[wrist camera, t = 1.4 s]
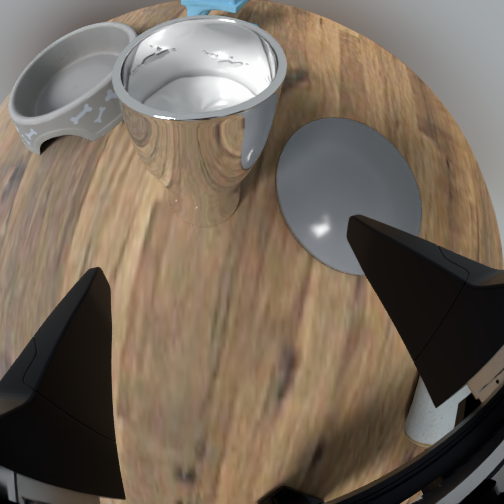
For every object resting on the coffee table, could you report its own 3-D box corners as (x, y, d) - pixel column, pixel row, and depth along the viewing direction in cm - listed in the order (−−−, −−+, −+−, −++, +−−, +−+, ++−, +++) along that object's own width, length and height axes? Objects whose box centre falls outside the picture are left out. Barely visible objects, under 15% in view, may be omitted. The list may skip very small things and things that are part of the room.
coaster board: (432, 197, 26) (437, 194, 25) (370, 310, 23) (375, 311, 22) (333, 100, 26) (336, 95, 25) (237, 191, 23) (238, 186, 22)
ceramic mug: (388, 432, 21) (432, 460, 14) (408, 364, 23) (461, 378, 15) (445, 418, 23) (485, 434, 15) (461, 360, 24) (507, 367, 17)
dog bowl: (43, 67, 22) (30, 44, 17) (161, 36, 25) (158, 5, 20) (8, 168, 20) (-18, 149, 15) (147, 135, 23) (135, 101, 18)
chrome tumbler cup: (167, 156, 22) (132, 18, 8) (245, 157, 23) (284, 18, 9) (161, 232, 21) (83, 133, 7) (245, 233, 22) (302, 132, 8)
